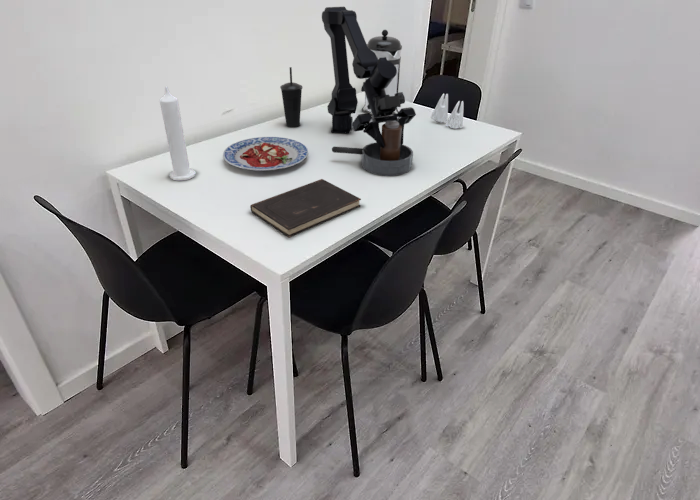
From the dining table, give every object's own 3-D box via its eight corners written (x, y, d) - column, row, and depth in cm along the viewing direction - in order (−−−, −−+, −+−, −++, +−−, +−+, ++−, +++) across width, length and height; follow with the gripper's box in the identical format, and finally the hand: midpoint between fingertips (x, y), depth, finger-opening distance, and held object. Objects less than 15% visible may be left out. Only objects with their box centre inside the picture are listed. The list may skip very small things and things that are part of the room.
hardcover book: (360, 206, 125) (361, 198, 124) (289, 237, 112) (288, 229, 111) (320, 185, 135) (320, 178, 134) (250, 211, 122) (249, 203, 121)
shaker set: (429, 122, 181) (432, 92, 174) (435, 119, 183) (439, 90, 177) (457, 130, 174) (461, 99, 168) (463, 127, 177) (467, 97, 170)
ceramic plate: (206, 158, 149) (205, 149, 147) (272, 137, 165) (271, 128, 163) (259, 184, 134) (258, 174, 133) (325, 158, 150) (325, 149, 149)
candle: (172, 182, 134) (153, 91, 121) (167, 172, 140) (149, 84, 126) (198, 178, 137) (183, 88, 123) (192, 168, 142) (177, 81, 129)
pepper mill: (375, 165, 146) (378, 123, 138) (386, 159, 150) (389, 118, 142) (391, 170, 143) (395, 128, 136) (402, 164, 147) (406, 122, 139)
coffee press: (405, 110, 192) (412, 28, 175) (391, 122, 180) (398, 35, 163) (365, 103, 198) (368, 23, 181) (349, 115, 185) (350, 30, 169)
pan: (358, 173, 142) (359, 159, 140) (364, 153, 155) (365, 140, 152) (410, 177, 140) (412, 163, 138) (412, 157, 153) (413, 143, 151)
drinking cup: (307, 123, 177) (305, 66, 166) (298, 129, 171) (296, 71, 160) (287, 120, 179) (285, 63, 168) (278, 126, 173) (275, 68, 162)
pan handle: (331, 153, 147) (331, 147, 146) (332, 150, 148) (332, 145, 147) (366, 155, 146) (367, 150, 145) (367, 153, 147) (367, 147, 146)
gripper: (357, 85, 133) (375, 138, 131) (415, 79, 140) (432, 129, 138) (345, 106, 143) (360, 155, 141) (399, 99, 150) (415, 145, 148)
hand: (392, 145), depth 141 cm, fingers closed on pepper mill, 6 cm apart
